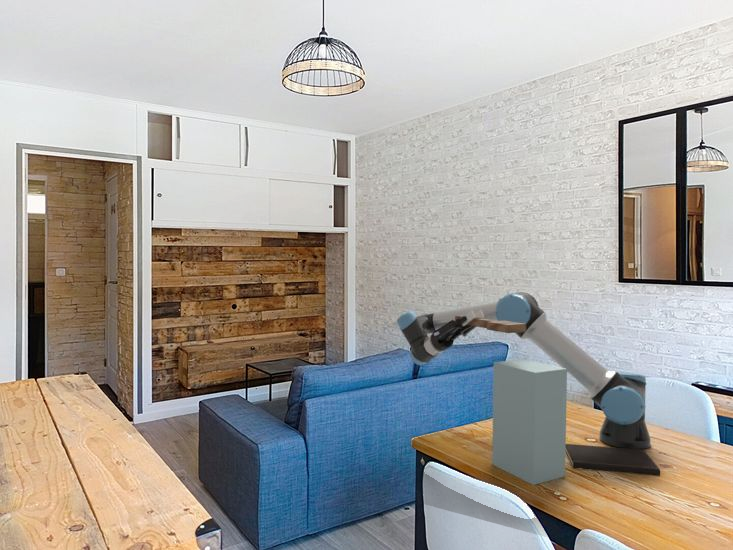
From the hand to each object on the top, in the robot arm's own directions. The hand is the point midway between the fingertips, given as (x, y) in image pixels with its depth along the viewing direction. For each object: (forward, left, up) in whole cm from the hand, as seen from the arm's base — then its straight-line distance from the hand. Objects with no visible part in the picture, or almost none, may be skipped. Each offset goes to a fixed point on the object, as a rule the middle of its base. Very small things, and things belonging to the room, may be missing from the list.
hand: (477, 313), depth 169 cm
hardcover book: (-38, -9, -44) cm, 59 cm away
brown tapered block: (-3, +2, -4) cm, 5 cm away
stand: (-19, +11, -43) cm, 48 cm away
